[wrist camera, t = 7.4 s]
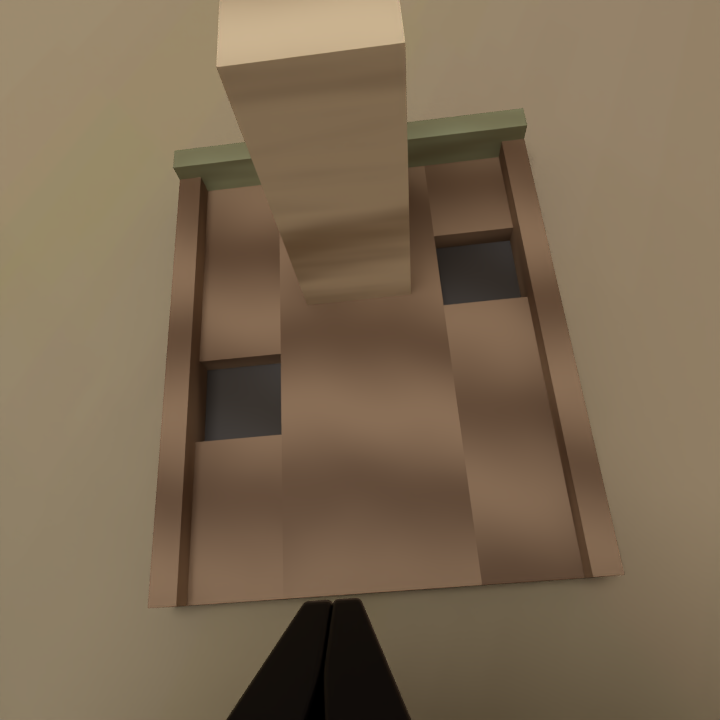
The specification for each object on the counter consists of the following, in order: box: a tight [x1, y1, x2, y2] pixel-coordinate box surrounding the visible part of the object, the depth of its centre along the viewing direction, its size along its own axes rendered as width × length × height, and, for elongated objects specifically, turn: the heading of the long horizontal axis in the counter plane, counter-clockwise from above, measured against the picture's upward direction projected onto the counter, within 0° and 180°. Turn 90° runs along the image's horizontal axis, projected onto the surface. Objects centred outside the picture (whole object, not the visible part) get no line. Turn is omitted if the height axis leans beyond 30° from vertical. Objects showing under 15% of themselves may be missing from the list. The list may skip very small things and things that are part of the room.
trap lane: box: [148, 108, 624, 608], centre depth 23 cm, size 20×16×3 cm
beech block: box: [216, 0, 411, 305], centre depth 20 cm, size 6×4×12 cm
